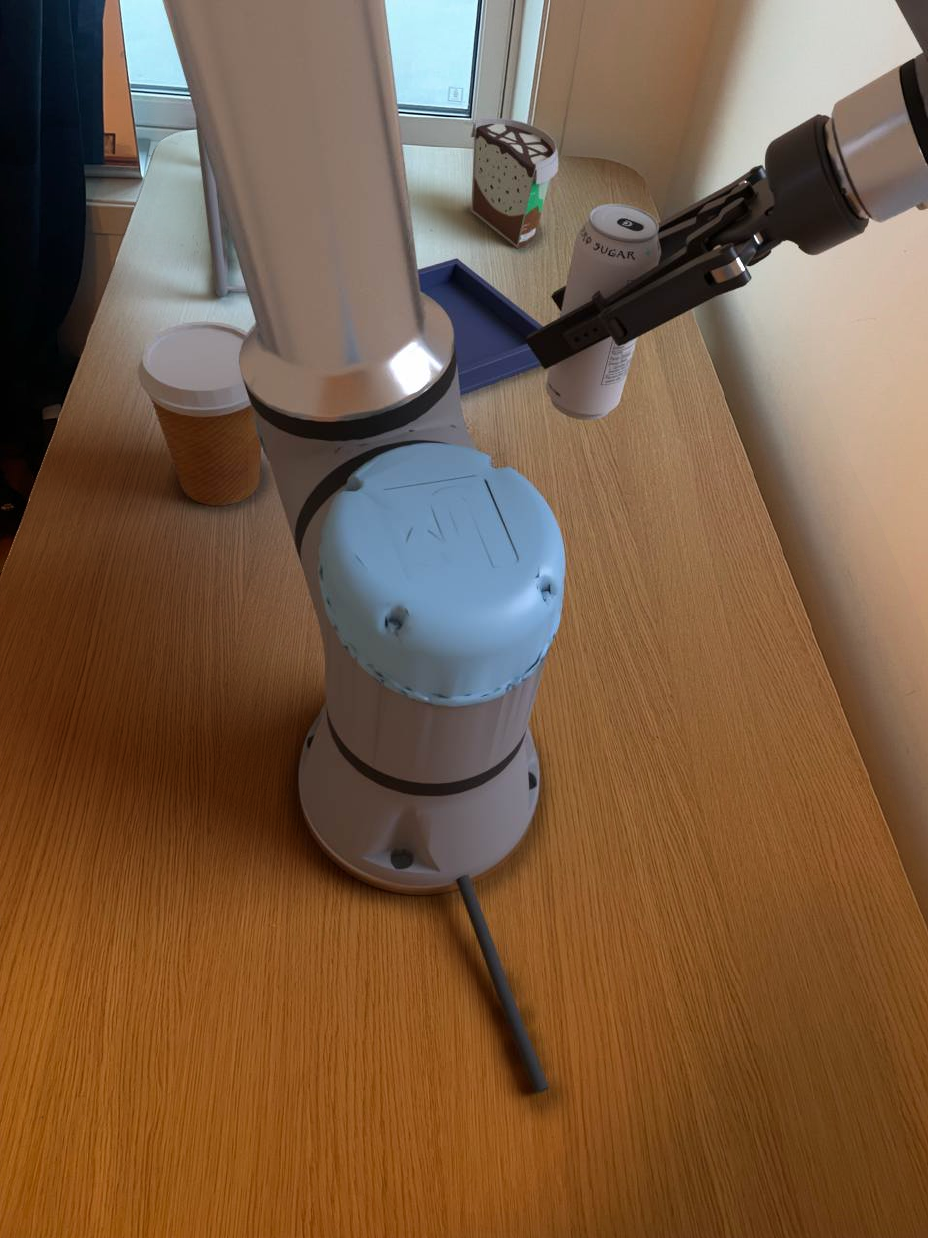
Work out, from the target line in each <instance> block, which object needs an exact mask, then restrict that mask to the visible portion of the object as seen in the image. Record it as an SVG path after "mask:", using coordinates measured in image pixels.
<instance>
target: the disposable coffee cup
mask: <svg viewBox="0 0 928 1238" xmlns="http://www.w3.org/2000/svg"><path fill="white" fill-rule="evenodd" d="M248 332H249V331H246V330H244V329H243V328H241V327H237V326H235V325H232V324H229V323H224V322H217V321H193V322H186V323H183V324H178V325H173V326H172V327H171V326H170V327H169V328H166V329H164V330H161V331H160V332H159V333H157V334H156V335H154V336H153V337H152V338H151V339H150V340H149V341H148V342H147V344H146V345H145V346H144V348H143V351H142V356H141V360H140V362H139V365H138V369H137V376H138V377H137V378H138V381H139V384H140V386H141V388H142V389H143V390H144V391H145V393H146V394H147V396H148V397H149V398H150V400H151V402H152V406H153V409H154V411H155V414H156V417H157V421H158V423H159V425H160V428H161V432H162V434H163V437H164V440H165V442H166V446H167V449H168V452H169V454H170V457H171V460H172V463H173V465H174V469H175V471H176V475H177V477H178V481H179V484H180V486H181V489H182V491H183V492H184V494H185V495H186V496H188V497H189V498H190V499H191V500H193V501H195V502H197V503H200V504H203V505H208V506H229V505H233V504H237V503H239V502H241V501H243V500H245V499H247V498H249V497H250V496H251V495H252V494H253V493H255V491H256V490H257V489H258V486H259V484H260V471H261V458H262V457H261V456H262V445H261V443H260V440H259V437H258V434H257V431H256V427H255V421H254V413H253V410H252V406H251V403H250V400H249V397H248V394H247V391H246V388H245V384H244V381H243V378H242V375H241V371H240V365H239V354H240V350H241V346H242V343H243V341H244V339H245V336H246V335H247V333H248Z"/></svg>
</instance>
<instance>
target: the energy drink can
mask: <svg viewBox="0 0 928 1238" xmlns="http://www.w3.org/2000/svg"><path fill="white" fill-rule="evenodd" d="M658 223H659V222H658V220H657V219H656V218H655V216H653V215H652V214H650V213H649V212H647V211H645V210H643V209H641V208H639V207H635V206H632V205H627V204H623V203H622V204H621V203H606V204H602V205H601V204H600V205H598V206H596V207H595V208H593V209H592V210H591V211H590V213H589V216H588V220H587V221H586V223H584V225H582V227H581V228H580V230H578V232H577V233H576V236H575V240H574V244H573V245H574V246H573V251H572V255H571V260H570V265H569V270H568V274H567V280H566V283H565V284H566V285H565V286H566V289H565V294H564V299H563V304H562V308H561V311H560V313H559V318H560V317H562V316H564V315H566V314H568V313H570V312H571V311H573V310H575V309H577V308H579V307H581V306H583V305H584V304H586V303H588V302H590V301H592V296H593V295H594V294H595V293H596V292H598V291H600V293H601V294H602V296H603V298H604V299H605V298H608V297H609V296H611V295H613V294H614V293H616V292H617V291H619V290H620V289H622V288H623V287H625V286H626V285H628V284H629V283H631V282H632V281H634V280H635V279H637V278H639V277H640V276H642V275H643V274H645V273H646V272H648V271H649V270H651V269H652V268H654V267H655V266H657V265H658V263H659V259H660V256H661V247H660V243H659V239H658V235H657V233H658V230H659V224H658ZM638 338H639V337H637V338H635V339H633V340H631V341H629V342H627V343H626V344H624V345H621V346H617V345H616V343H615V341H614V340H613V338H612V337H609V338H607V339H605V340H603V341H601V342H599V343H597V344H595V345H593V346H591V347H589V348H587V349H585V350H583V351H581V352H579V353H577V354H575V355H573V356H571V357H569V358H567V359H565V360H563V361H561V362H559V363H557V364H555V365H553V366H551V367H549V368H548V372H547V373H548V374H547V377H546V382H545V390H546V393H547V395H548V397H549V398H550V402H551V404H552V406H553V407H554V408H555V410H557V411H558V412H559V413H561V414H563V415H564V416H566V417H569V418H571V419H575V420H579V421H595V420H598V419H601V418H604V417H605V416H607V415H608V414H609V412H611V411H612V410H614V409H615V408H617V407H618V405H619V403H620V402H621V398H622V395H623V390H624V387H625V385H626V384H625V383H626V380H627V377H628V373H629V369H630V366H631V363H632V358H633V355H634V352H635V348H636V345H637V341H638Z"/></svg>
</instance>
